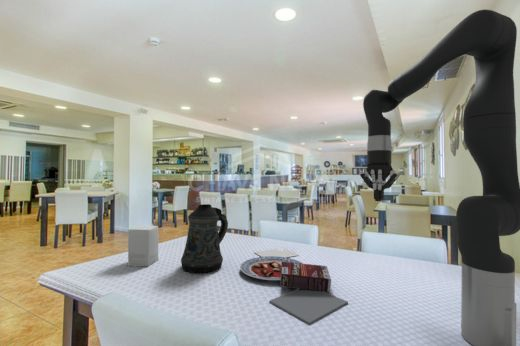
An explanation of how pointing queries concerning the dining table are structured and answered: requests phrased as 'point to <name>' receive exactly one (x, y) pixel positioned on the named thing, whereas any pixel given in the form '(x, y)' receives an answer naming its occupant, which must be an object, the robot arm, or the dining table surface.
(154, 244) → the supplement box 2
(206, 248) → the beer stein
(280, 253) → the paper stack
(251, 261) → the ceramic plate
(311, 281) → the supplement box
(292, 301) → the charcoal mat
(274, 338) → the dining table surface
